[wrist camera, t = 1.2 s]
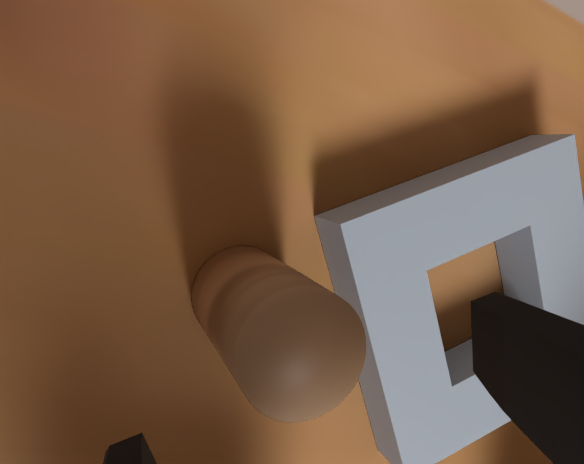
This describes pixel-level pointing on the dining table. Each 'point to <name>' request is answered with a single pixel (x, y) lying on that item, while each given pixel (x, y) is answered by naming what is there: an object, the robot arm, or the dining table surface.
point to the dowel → (279, 333)
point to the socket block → (440, 249)
